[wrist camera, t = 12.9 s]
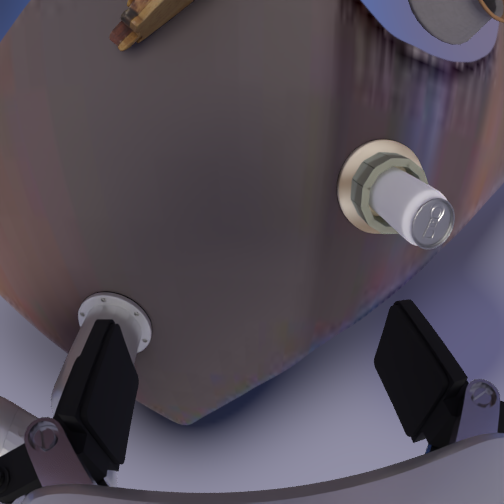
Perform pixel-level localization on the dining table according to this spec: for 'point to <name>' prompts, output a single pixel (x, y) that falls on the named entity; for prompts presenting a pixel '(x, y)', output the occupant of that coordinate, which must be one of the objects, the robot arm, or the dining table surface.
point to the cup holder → (372, 180)
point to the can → (412, 208)
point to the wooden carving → (144, 20)
